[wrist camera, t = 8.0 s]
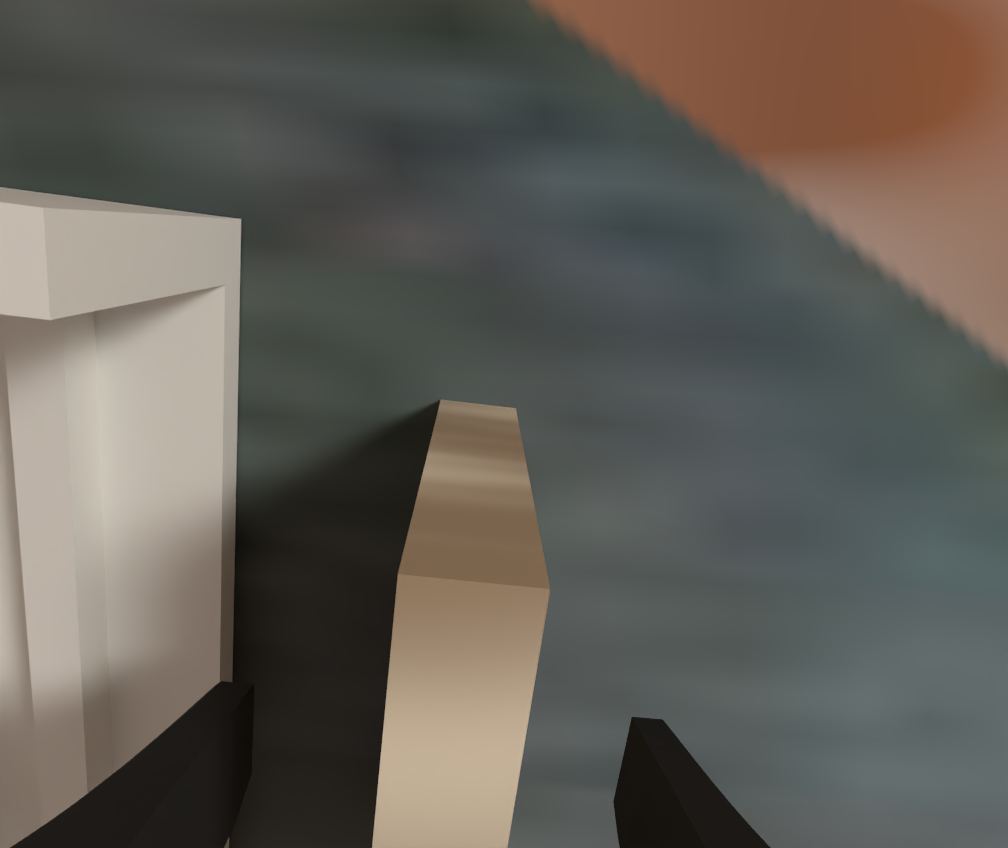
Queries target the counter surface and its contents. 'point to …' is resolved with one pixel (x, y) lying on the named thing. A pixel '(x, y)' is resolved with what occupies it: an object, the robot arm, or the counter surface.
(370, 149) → the counter surface
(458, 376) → the counter surface
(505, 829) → the tall sheet
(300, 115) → the counter surface
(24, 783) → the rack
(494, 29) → the counter surface
